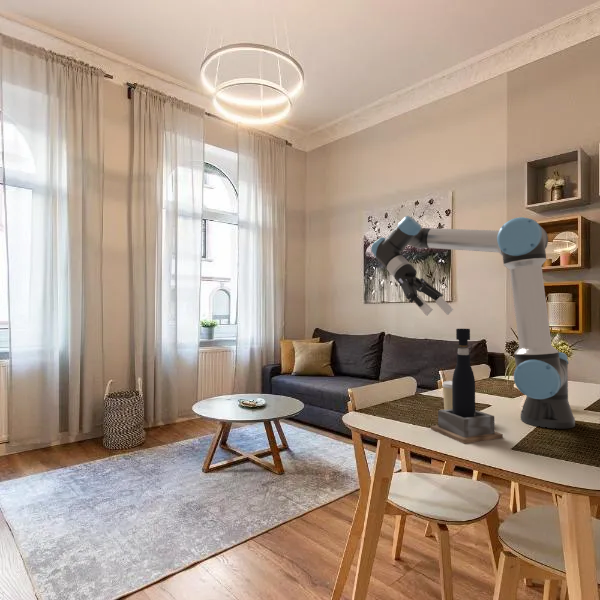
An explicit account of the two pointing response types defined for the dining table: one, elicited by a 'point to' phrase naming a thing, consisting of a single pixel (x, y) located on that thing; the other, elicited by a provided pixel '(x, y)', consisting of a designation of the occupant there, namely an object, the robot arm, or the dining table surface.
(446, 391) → the coffee cup
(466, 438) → the collar stand
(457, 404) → the wine bottle
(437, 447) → the dining table surface
